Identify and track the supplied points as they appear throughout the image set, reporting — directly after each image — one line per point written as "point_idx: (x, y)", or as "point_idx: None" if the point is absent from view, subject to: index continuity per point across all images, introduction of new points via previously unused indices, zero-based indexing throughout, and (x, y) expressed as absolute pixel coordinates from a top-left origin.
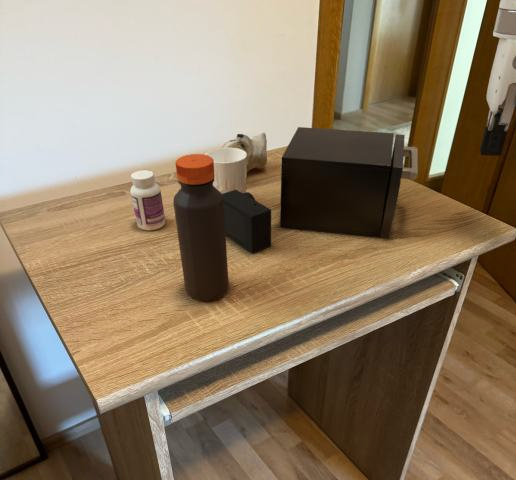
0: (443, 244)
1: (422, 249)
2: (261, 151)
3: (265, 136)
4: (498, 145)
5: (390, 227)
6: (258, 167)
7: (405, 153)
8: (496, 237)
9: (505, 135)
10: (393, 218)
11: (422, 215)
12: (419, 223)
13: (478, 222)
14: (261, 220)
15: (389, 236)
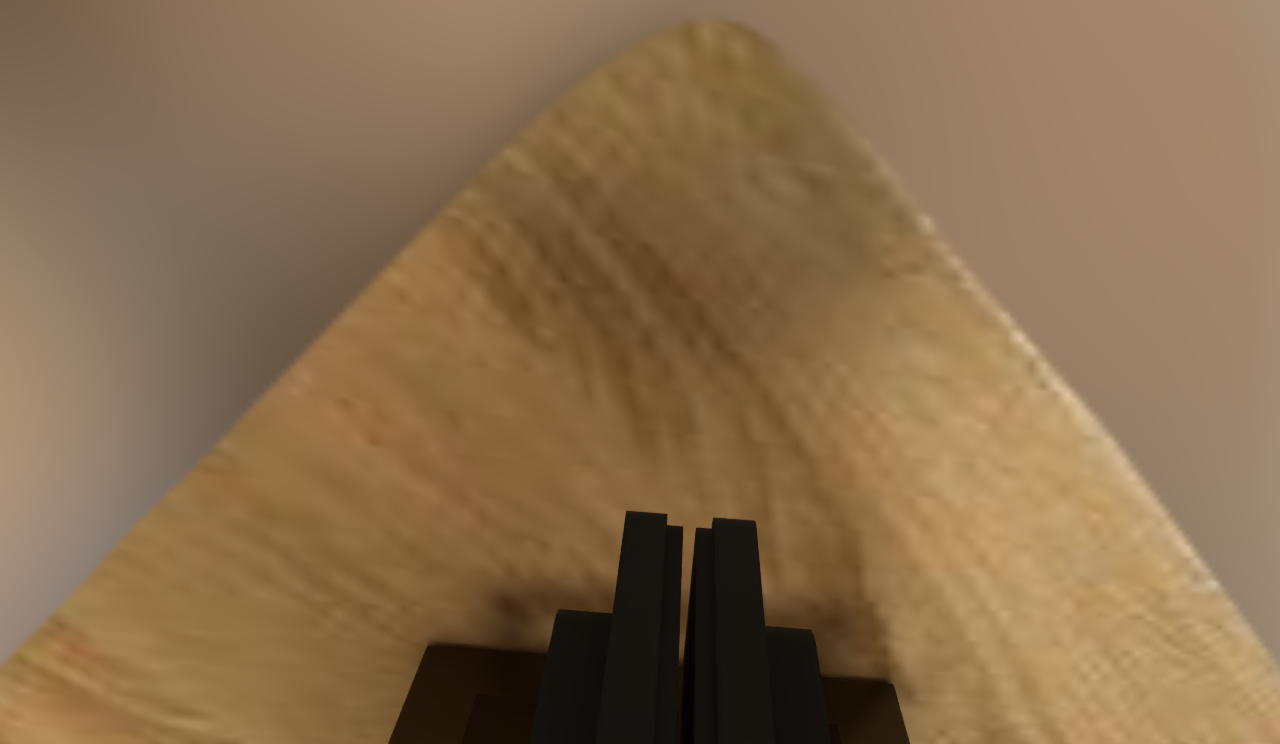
0: (944, 441)
1: (1003, 546)
2: None
3: None
4: (819, 686)
5: (906, 735)
6: None
7: None
8: (834, 104)
9: (766, 735)
10: (841, 739)
11: (585, 511)
12: (693, 535)
13: (619, 194)
14: None
15: (893, 689)
